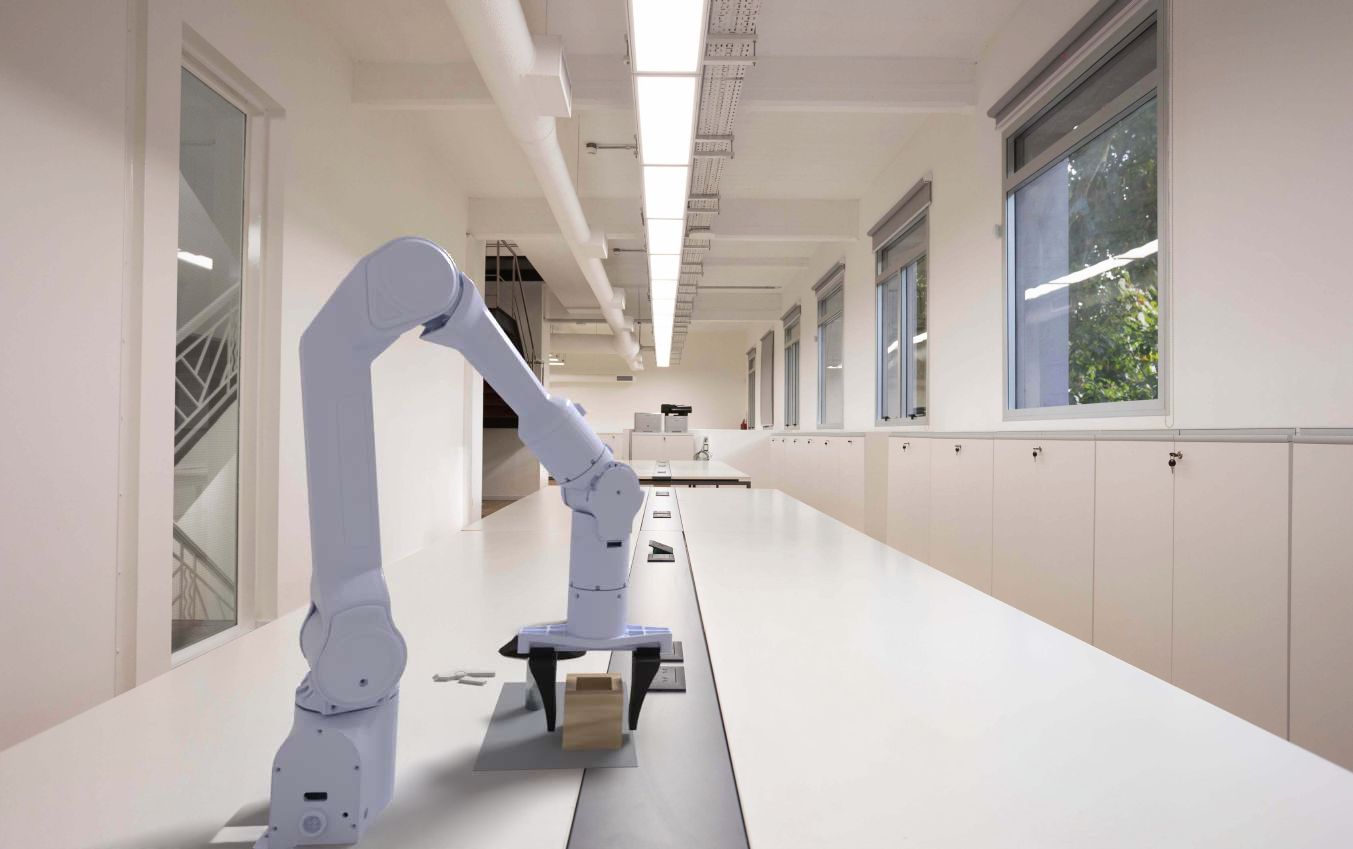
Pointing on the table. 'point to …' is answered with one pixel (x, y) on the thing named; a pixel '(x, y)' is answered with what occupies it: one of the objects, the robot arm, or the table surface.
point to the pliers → (466, 676)
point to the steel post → (532, 693)
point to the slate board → (543, 738)
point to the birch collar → (593, 711)
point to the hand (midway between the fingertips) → (592, 726)
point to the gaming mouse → (512, 651)
